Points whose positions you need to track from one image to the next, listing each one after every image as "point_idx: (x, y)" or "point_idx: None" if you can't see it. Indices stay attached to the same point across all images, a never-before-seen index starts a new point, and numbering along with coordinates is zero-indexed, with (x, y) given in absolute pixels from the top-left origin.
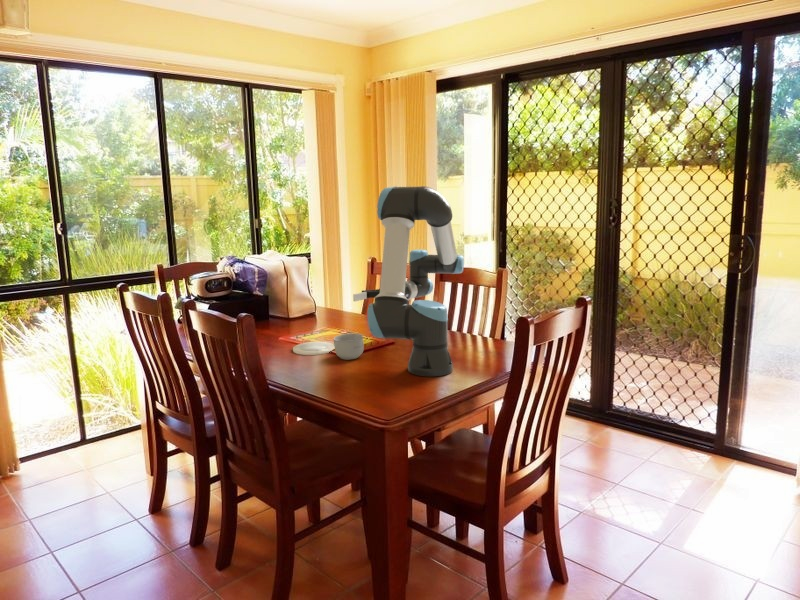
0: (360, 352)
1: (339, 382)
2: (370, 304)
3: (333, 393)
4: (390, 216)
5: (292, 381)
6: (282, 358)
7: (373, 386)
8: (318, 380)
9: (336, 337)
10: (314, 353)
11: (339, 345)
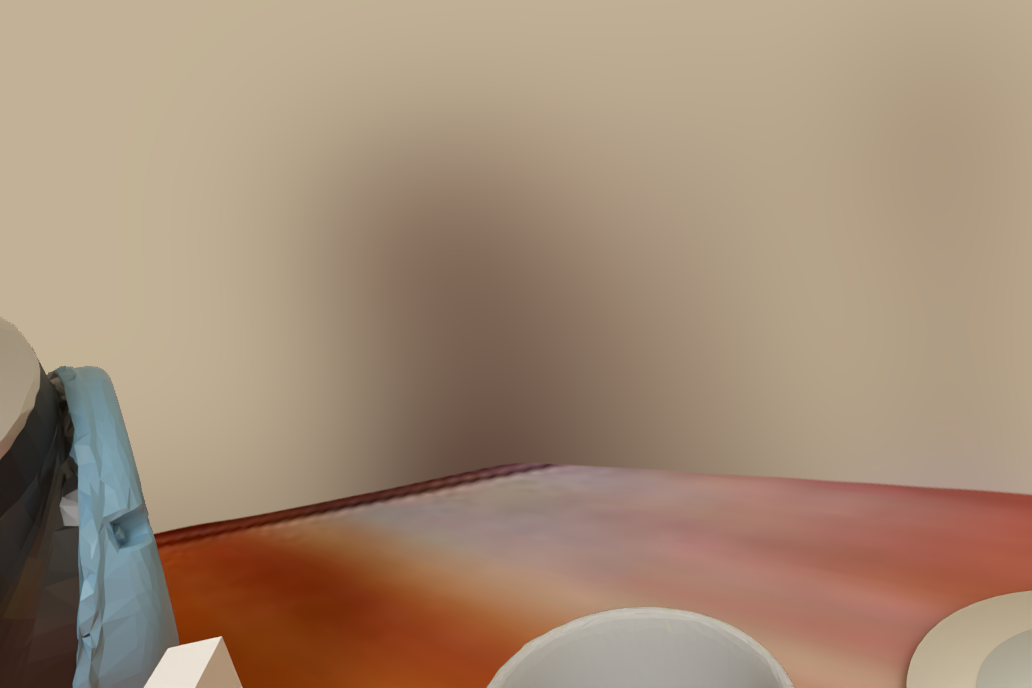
0: None
1: (318, 604)
2: (81, 367)
3: (264, 554)
4: None
5: (504, 498)
6: (918, 533)
7: None
8: (423, 558)
9: (759, 660)
10: (909, 672)
11: (596, 650)
